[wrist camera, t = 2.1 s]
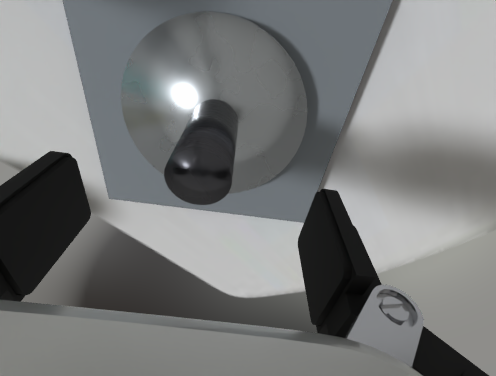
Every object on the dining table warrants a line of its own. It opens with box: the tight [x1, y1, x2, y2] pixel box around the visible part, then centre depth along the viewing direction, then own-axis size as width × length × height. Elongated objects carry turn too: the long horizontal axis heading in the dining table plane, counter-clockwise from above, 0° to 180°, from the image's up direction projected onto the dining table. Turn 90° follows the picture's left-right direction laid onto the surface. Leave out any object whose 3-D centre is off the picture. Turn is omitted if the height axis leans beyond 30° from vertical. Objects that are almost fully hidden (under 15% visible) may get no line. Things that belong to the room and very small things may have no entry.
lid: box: [121, 11, 307, 205], centre depth 13 cm, size 11×11×7 cm
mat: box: [63, 0, 393, 223], centre depth 16 cm, size 16×16×1 cm
